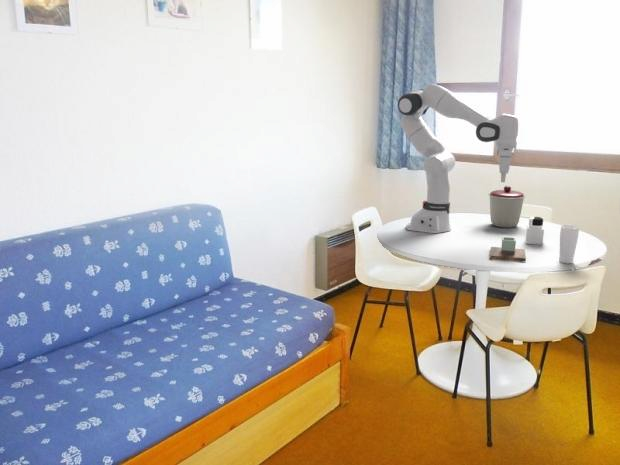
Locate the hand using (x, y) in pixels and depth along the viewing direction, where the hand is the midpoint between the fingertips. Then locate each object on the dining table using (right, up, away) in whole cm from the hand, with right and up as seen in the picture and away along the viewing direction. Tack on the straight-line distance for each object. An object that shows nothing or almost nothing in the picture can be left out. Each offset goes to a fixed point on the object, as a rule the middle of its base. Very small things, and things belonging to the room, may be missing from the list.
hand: (502, 180), depth 259 cm
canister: (+13, -21, +34) cm, 42 cm away
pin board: (-4, -34, -17) cm, 39 cm away
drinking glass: (+17, -37, -26) cm, 48 cm away
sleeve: (-4, -33, -18) cm, 37 cm away
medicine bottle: (+16, -29, +3) cm, 33 cm away
